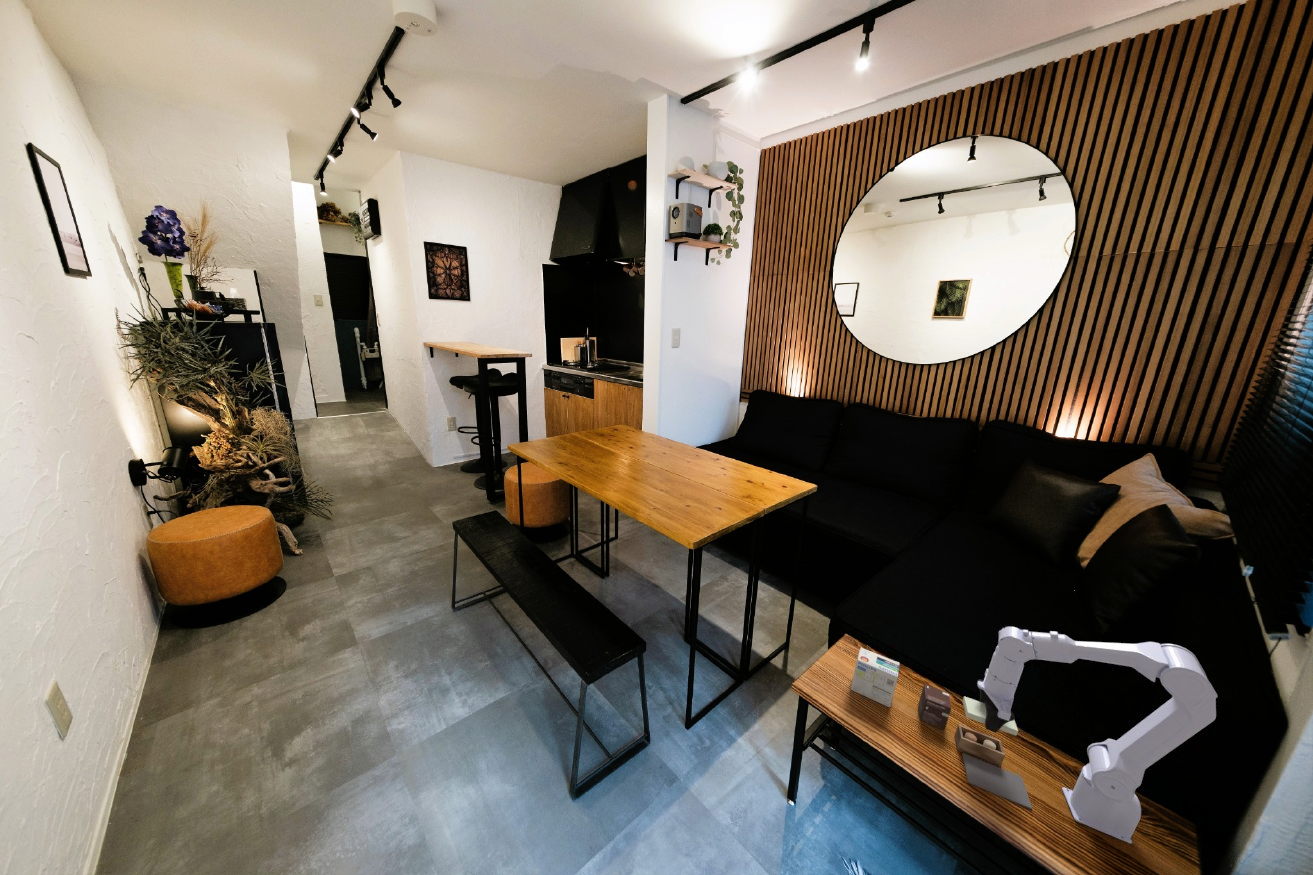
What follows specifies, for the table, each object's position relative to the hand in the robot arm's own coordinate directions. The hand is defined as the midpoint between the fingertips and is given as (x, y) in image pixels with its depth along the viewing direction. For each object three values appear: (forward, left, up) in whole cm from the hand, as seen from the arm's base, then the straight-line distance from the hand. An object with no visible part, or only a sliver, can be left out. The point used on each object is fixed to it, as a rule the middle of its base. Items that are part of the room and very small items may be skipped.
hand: (987, 719), depth 108 cm
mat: (-2, +7, -10) cm, 12 cm away
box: (+10, -6, -10) cm, 15 cm away
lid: (0, 0, +1) cm, 1 cm away
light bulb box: (+25, -7, -10) cm, 27 cm away
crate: (0, 0, -10) cm, 10 cm away
